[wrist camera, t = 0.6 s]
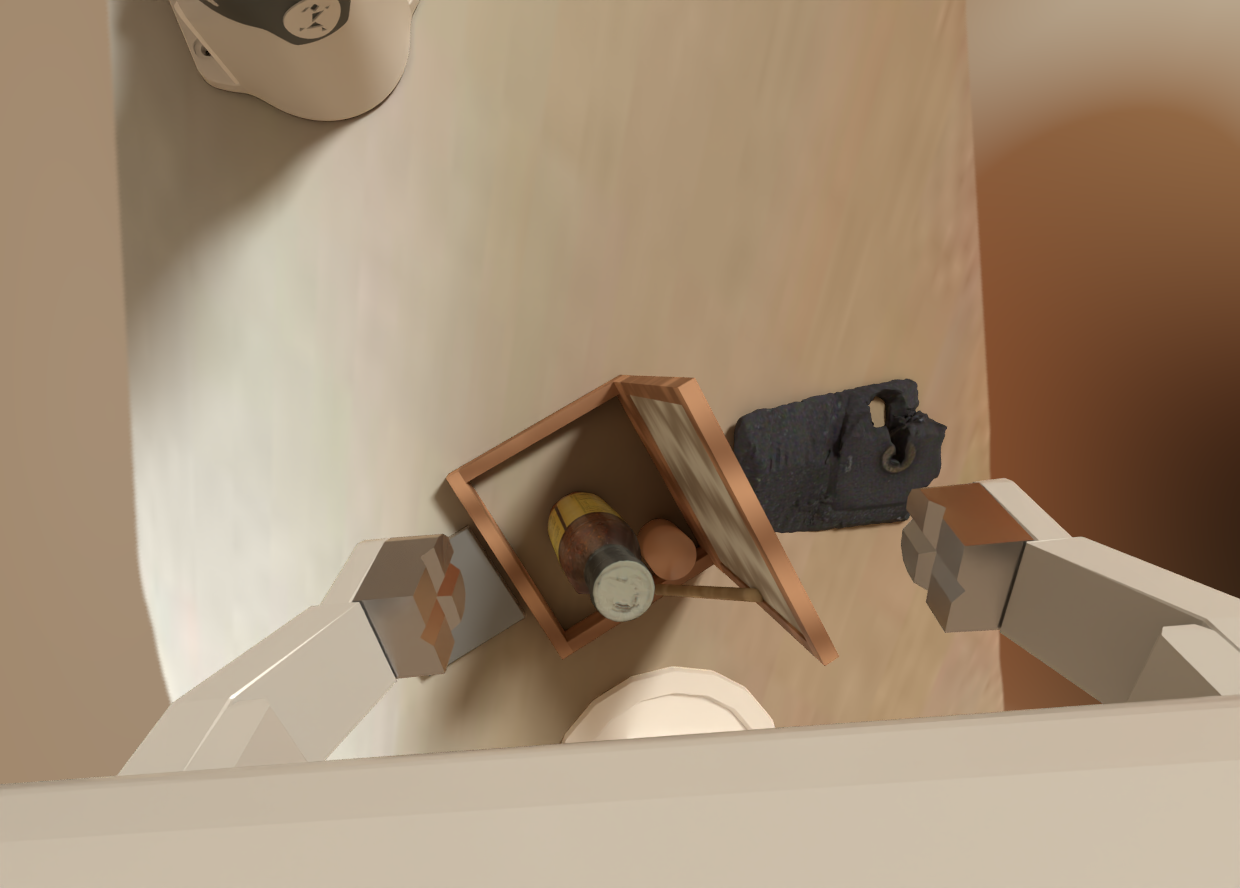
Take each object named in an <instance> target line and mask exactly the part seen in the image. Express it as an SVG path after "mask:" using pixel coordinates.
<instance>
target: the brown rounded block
mask: <svg viewBox="0 0 1240 888" xmlns="http://www.w3.org/2000/svg"><path fill="white" fill-rule="evenodd" d="M637 539H638V542H639V546H640V550H641V555H642V557H643V558H644V559H645V561H646V562H647V563H648V565H649V566H650V567H651V569H652V570H653V571H654V573H655V574H656V575H657V576H659V577H660V578H662V579H665V580H677V579H680V578H682V577H684V576H686V575H687V574H688V573H689V572H690V571H691V570H692V568H693V567H694V565H695V562H696V556H697V554H696V548H695V545H694V543H693V542H692V541H691V539H690V538H689V537H687V536H686V535H685V534H684V533H683V532H682V531H681V530H680V529H679V528H678V527H676V526H675V525H674V524H673V523H672V522H670V521H668V520H665V519H655V520H652V521H650V522H648V523H646V524H645V525H644V526H643V527H642V529H641V530H640V532H639V534H638V537H637Z"/></svg>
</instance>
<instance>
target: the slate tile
mask: <svg viewBox="0 0 1240 888" xmlns="http://www.w3.org/2000/svg"><path fill="white" fill-rule="evenodd" d="M448 538H449V540H450V543H451V545H452V548H453V550H454V552H453V555H452V558H451V561H450V563H451V564H453V565H454V566H455V567H457V568H458V569H459V570H460V571H461V574H462V577H463V580H464V586H465V592H466V595H465V610H464V613H463V617H462V620H461V622H460V623H459V624H458V625H457V626H456V627H455V628H454V629H453V630H452V631H451V633H452V636H453V638H454V641H455V643H454V646H453V649H452V652H451V656H450V659H449V662H448V664H450V663H452V662H453V661H455V660H456V659H458V658H460V657H461V656H463V655H465V654H466V653H468V652H469V651H471V650H473V649H474V648H476V647H478V646H479V645H481V644H482V643H484V642H486V641H487V640H489V639H491V638H492V637H494V636H495V635H497V634H499V633H500V632H502V631H504V630H505V629H507V628H508V627H510V626H512V625H513V624H515V623H517V622H518V621H520V620H521V619H523V618H525V612H524V611H523V609H522V607H521V606H520V604H519V603H518V601H517V600H516V598H515V597H514V595H513V594H512V592H511V590H510V589H509V587H508V586H507V584H506V583H505V581H504V580H503V578H502V576H501V575H500V573H499V572H498V570H497V569H496V567H495V566H494V564H493V563H492V561H491V559H490V558H489V556H488V555H487V553H486V552H485V550H484V549H483V547H482V546H481V544H480V542H479V541H478V539H477V538H476V536H475V535H474V533H473V532H472V530H471V528H470V527H469V525H468V526H466V527H465V528H463V529H461V530H460V531H458V532H456V533H455V534H453V535H451V536H449V537H448ZM429 676H430V675H429Z"/></svg>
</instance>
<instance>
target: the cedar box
mask: <svg viewBox="0 0 1240 888" xmlns="http://www.w3.org/2000/svg"><path fill="white" fill-rule="evenodd" d="M615 396H617V397H618V399H619V401H620V402H621V404H622V406H623V408H624V410H625V411H626V413H627V415H628V417H629V419H630V420H631V422H632V424H633V426H634V428H635V430H636V431H637V433H638V435H639V437H640V439H641V440H642V442H643V444H644V446H645V448H646V449H647V451H648V453H649V455H650V457H651V458H652V460H653V462H654V464H655V466H656V467H657V469H658V471H659V473H660V475H661V477H662V478H663V480H664V482H665V484H666V486H667V487H668V489H669V491H670V493H671V495H672V496H673V498H674V500H675V502H676V504H677V505H678V507H679V509H680V511H681V513H682V515H683V516H684V518H685V520H686V522H687V524H688V525H689V527H690V529H691V531H692V533H693V534H694V536H695V538H696V540H697V542H698V543H699V545H700V547H699V548H697V549H696V554H697V556H696V562H695V565H694V567H693V568H692V570H691V571H690V572H689V573H688V574H687V575H686V576H684V577H682V578H680V579H677V580H665V579H662V578H660V577H659V576H657V575H654V576H652V578H653V580H654V584H655V591H654V597H653V601H652V603H653V602H655V601H656V600H658V599H660V598H661V597H663V596H664V595H665V596H679V597H693V598H706V599H720V600H734V601H748V602H756V603H757V604H758V605H759V606H760V607H762V608H763V609H764V610H765V611H766V612H767V613H768V614H769V615H770V616H771V617H772V618H773V619H775V620H776V621H777V622H778V623H779V624H780V625H781V626H782V627H783V628H784V629H785V630H786V631H788V632H789V633H790V634H791V635H792V636H793V637H794V638H795V639H796V640H797V641H798V642H799V643H800V644H802V645H803V646H804V647H805V648H806V649H807V650H808V651H809V652H810V653H811V654H812V655H813V656H815V657H816V658H817V659H818V660H819V661H820V662H821V663H822V664H823V665H824V666H826V665H827V664H829V663H830V662H832V661H833V660H835V659H836V658H838V657H839V655H838V653H837V651H836V649H835V647H834V646H833V644H832V642H831V640H830V638H829V636H828V634H827V632H826V630H825V628H824V626H823V624H822V622H821V620H820V619H819V617H818V615H817V613H816V611H815V609H814V607H813V605H812V603H811V601H810V599H809V597H808V595H807V593H806V591H805V590H804V588H803V586H802V584H801V582H800V580H799V578H798V576H797V574H796V572H795V570H794V568H793V566H792V564H791V563H790V561H789V559H788V557H787V555H786V553H785V551H784V549H783V547H782V545H781V543H780V541H779V539H778V537H777V536H776V534H775V532H774V530H773V528H772V526H771V524H770V522H769V520H768V518H767V516H766V514H765V512H764V510H763V509H762V507H761V505H760V503H759V501H758V499H757V497H756V495H755V493H754V491H753V489H752V487H751V485H750V483H749V481H748V480H747V478H746V476H745V474H744V472H743V470H742V468H741V466H740V464H739V462H738V460H737V458H736V456H735V454H734V453H733V451H732V449H731V447H730V445H729V443H728V441H727V439H726V437H725V435H724V433H723V431H722V429H721V427H720V426H719V424H718V422H717V420H716V418H715V416H714V414H713V412H712V410H711V408H710V406H709V404H708V402H707V400H706V398H705V397H704V395H703V393H702V391H701V389H700V387H699V385H698V383H697V381H696V379H695V378H685V377H656V376H631V375H619V376H617V377H615V378H614V379H612V380H610V381H609V382H607V383H605V384H603V385H602V386H600V387H598V388H596V389H595V390H593V391H591V392H589V393H588V394H586V395H584V396H583V397H581V398H579V399H577V400H576V401H574V402H572V403H570V404H569V405H567V406H565V407H563V408H562V409H560V410H558V411H556V412H555V413H553V414H551V415H550V416H548V417H546V418H544V419H543V420H541V421H539V422H537V423H536V424H534V425H532V426H530V427H529V428H527V429H525V430H524V431H522V432H520V433H518V434H517V435H515V436H513V437H511V438H510V439H508V440H506V441H504V442H503V443H501V444H499V445H498V446H496V447H494V448H492V449H491V450H489V451H487V452H485V453H484V454H482V455H480V456H478V457H477V458H475V459H473V460H472V461H470V462H468V463H466V464H465V465H463V466H461V467H459V468H458V469H456V470H454V471H452V472H451V473H449V474H448V476H447V478H446V479H447V481H448V482H449V484H450V485H451V487H452V489H453V490H454V492H455V493H456V495H457V496H458V498H459V499H460V501H461V503H462V504H463V506H464V507H465V509H466V510H467V512H468V514H469V515H470V517H471V518H472V520H473V521H474V523H475V524H476V526H477V528H478V529H479V531H480V532H481V534H482V535H483V537H484V538H485V540H486V542H487V543H488V545H489V546H490V548H491V549H492V551H493V552H494V554H495V556H496V557H497V559H498V560H499V562H500V563H501V565H502V566H503V568H504V570H505V571H506V573H507V574H508V576H509V577H510V579H511V580H512V582H513V584H514V585H515V587H516V588H517V590H518V591H519V593H520V594H521V596H522V598H523V599H524V601H525V602H526V604H527V605H528V607H529V609H530V610H531V612H532V613H533V615H534V616H535V618H536V619H537V621H538V623H539V624H540V626H541V627H542V629H543V630H544V632H545V633H546V635H547V637H548V638H549V640H550V641H551V643H552V644H553V646H554V647H555V649H556V651H557V652H558V654H559V655H560V657H561V658H562V660H563V659H564V658H566V657H567V656H569V655H571V654H572V653H574V652H575V651H577V650H578V649H580V648H582V647H583V646H585V645H586V644H588V643H590V642H591V641H593V640H594V639H596V638H598V637H599V636H601V635H602V634H604V633H606V632H607V631H609V630H610V629H612V628H613V627H615V626H617V625H618V624H620V623H621V622H615V621H612V620H610V619H607V618H605V617H604V616H603V615H602V614H600V613H599V612H598V611H596V612H595V613H593V614H591V615H590V616H588V617H587V618H585V619H583V620H582V621H580V622H579V623H577V624H575V625H574V626H572V627H571V628H569V629H567V630H566V631H564V630H563V628H562V626H561V625H560V623H559V622H558V620H557V619H556V617H555V615H554V614H553V612H552V611H551V609H550V607H549V606H548V604H547V603H546V601H545V600H544V598H543V596H542V595H541V593H540V592H539V590H538V589H537V587H536V585H535V584H534V582H533V581H532V579H531V577H530V576H529V574H528V573H527V571H526V570H525V568H524V566H523V565H522V563H521V562H520V560H519V558H518V557H517V555H516V554H515V552H514V551H513V549H512V547H511V546H510V544H509V543H508V541H507V540H506V538H505V536H504V535H503V533H502V532H501V530H500V528H499V527H498V525H497V524H496V522H495V521H494V519H493V517H492V516H491V514H490V513H489V511H488V510H487V508H486V506H485V505H484V503H483V502H482V500H481V498H480V497H479V495H478V494H477V492H476V491H475V489H474V487H473V486H472V484H471V483H470V480H472V479H474V478H475V477H477V476H479V475H480V474H482V473H484V472H486V471H487V470H489V469H491V468H493V467H494V466H496V465H498V464H499V463H501V462H503V461H505V460H506V459H508V458H510V457H511V456H513V455H515V454H517V453H518V452H520V451H522V450H524V449H525V448H527V447H529V446H530V445H532V444H534V443H536V442H537V441H539V440H541V439H542V438H544V437H546V436H548V435H549V434H551V433H553V432H555V431H556V430H558V429H560V428H561V427H563V426H565V425H567V424H568V423H570V422H572V421H573V420H575V419H577V418H579V417H580V416H582V415H584V414H586V413H587V412H589V411H591V410H592V409H594V408H596V407H598V406H599V405H601V404H603V403H604V402H606V401H608V400H610V399H611V398H613V397H615ZM712 565H715V566H717V567H718V568H719V569H720V570H721V571H722V572H723V573H725V574H726V575H727V576H728V577H729V578H730V579H731V580H732V581H733V582H735V583H736V584H737V585H738V586H739V587H740V588H734V587H714V586H693V585H682V584H683V583H685V582H687V581H688V580H690V579H691V578H693V577H695V576H696V575H698V574H699V573H701V572H703V571H704V570H706V569H707V568H709V567H710V566H712ZM652 603H651V604H652Z"/></svg>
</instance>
